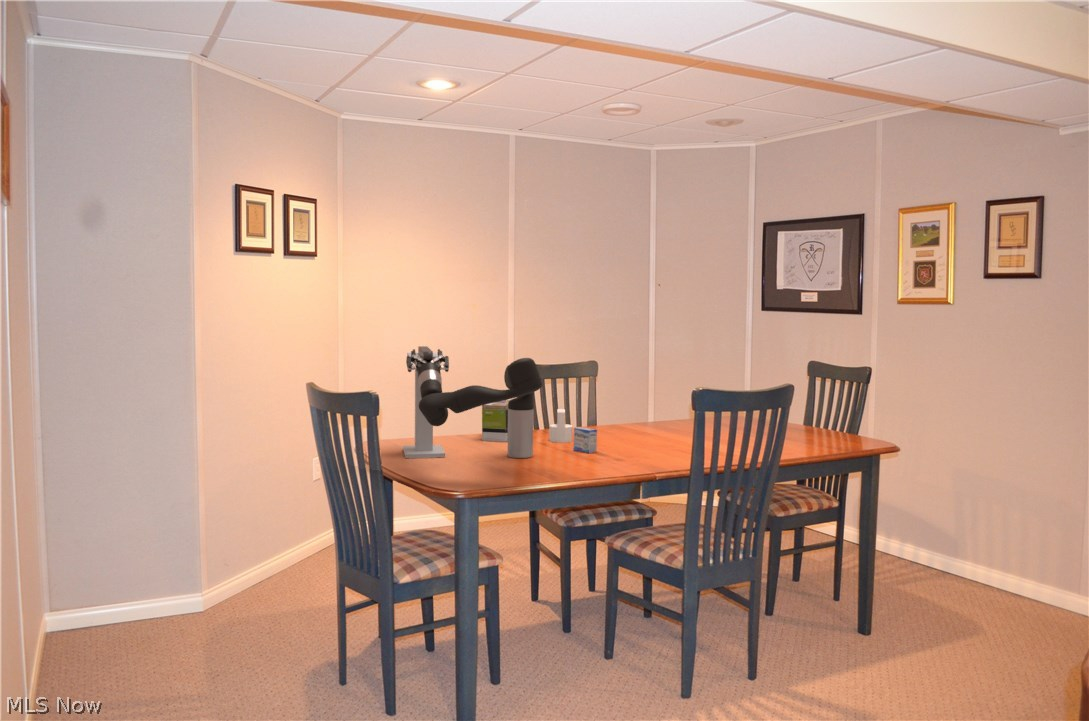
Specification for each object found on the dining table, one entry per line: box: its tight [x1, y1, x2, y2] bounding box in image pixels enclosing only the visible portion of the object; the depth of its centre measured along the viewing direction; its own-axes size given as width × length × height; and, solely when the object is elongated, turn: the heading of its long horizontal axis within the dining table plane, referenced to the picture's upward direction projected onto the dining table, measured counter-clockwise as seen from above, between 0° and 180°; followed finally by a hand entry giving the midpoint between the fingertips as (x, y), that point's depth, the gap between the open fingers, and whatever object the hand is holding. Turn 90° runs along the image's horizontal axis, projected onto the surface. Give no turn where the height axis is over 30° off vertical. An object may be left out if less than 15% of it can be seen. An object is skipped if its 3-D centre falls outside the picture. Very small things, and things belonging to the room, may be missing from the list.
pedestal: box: [402, 352, 446, 459], centre depth 313 cm, size 16×14×36 cm
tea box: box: [481, 399, 511, 443], centre depth 347 cm, size 15×10×15 cm, turn 168°
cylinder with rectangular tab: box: [548, 408, 573, 444], centre depth 344 cm, size 9×9×12 cm
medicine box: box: [573, 426, 598, 454], centre depth 324 cm, size 8×4×9 cm, turn 47°
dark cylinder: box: [417, 345, 434, 359], centre depth 306 cm, size 27×3×2 cm, turn 13°
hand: (426, 351), depth 301 cm, fingers open, 8 cm apart
